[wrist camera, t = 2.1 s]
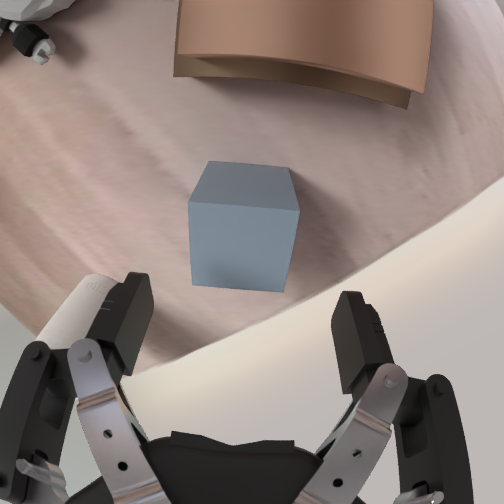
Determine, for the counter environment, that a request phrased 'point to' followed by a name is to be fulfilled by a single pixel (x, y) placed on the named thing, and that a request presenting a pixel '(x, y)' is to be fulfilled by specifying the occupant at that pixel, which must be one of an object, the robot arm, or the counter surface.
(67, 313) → the dixie cup
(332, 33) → the wooden stepped block
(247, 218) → the slate brick
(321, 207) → the counter surface
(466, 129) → the counter surface
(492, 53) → the counter surface
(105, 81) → the counter surface
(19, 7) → the robot toy
